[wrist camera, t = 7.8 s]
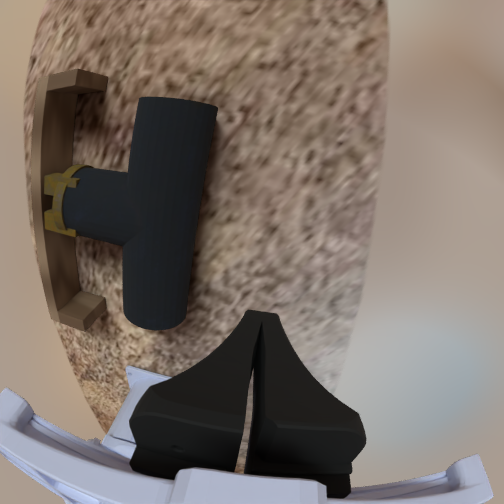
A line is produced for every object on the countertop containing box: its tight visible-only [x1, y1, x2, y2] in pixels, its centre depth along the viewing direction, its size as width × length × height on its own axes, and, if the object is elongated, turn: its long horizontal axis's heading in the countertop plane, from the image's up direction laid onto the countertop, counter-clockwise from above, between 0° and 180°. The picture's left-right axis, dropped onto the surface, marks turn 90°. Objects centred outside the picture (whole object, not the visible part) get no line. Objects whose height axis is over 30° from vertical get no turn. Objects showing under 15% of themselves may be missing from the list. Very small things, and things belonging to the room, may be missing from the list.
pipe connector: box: [44, 97, 218, 330], centre depth 18 cm, size 12×5×15 cm
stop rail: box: [31, 69, 108, 332], centre depth 19 cm, size 20×4×4 cm, turn 172°
